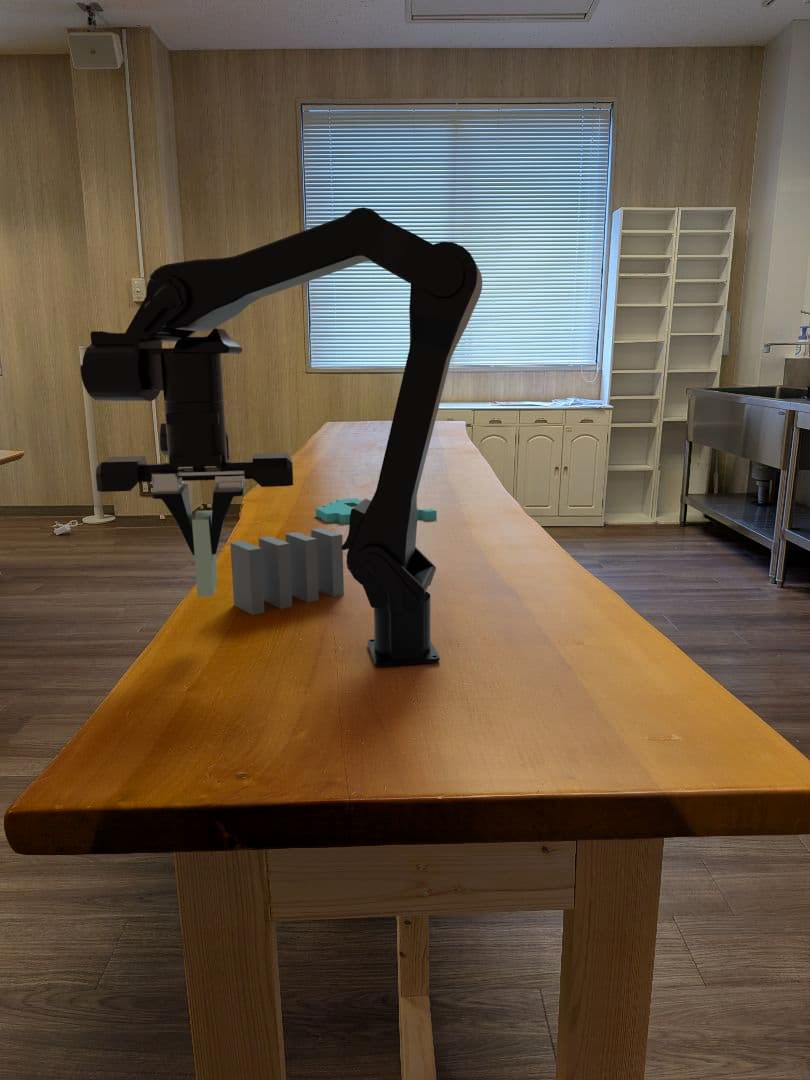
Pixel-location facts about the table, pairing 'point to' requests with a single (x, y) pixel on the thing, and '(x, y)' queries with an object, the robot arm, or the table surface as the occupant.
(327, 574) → the domino
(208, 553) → the sage domino
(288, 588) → the domino
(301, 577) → the domino
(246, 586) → the domino
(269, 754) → the table surface
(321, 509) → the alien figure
